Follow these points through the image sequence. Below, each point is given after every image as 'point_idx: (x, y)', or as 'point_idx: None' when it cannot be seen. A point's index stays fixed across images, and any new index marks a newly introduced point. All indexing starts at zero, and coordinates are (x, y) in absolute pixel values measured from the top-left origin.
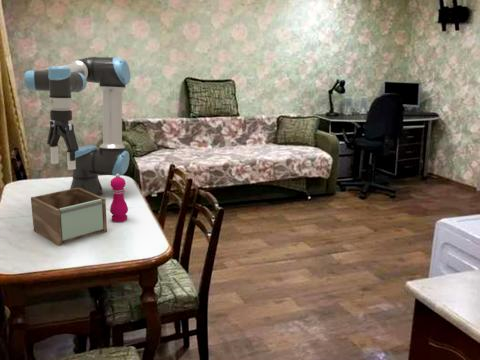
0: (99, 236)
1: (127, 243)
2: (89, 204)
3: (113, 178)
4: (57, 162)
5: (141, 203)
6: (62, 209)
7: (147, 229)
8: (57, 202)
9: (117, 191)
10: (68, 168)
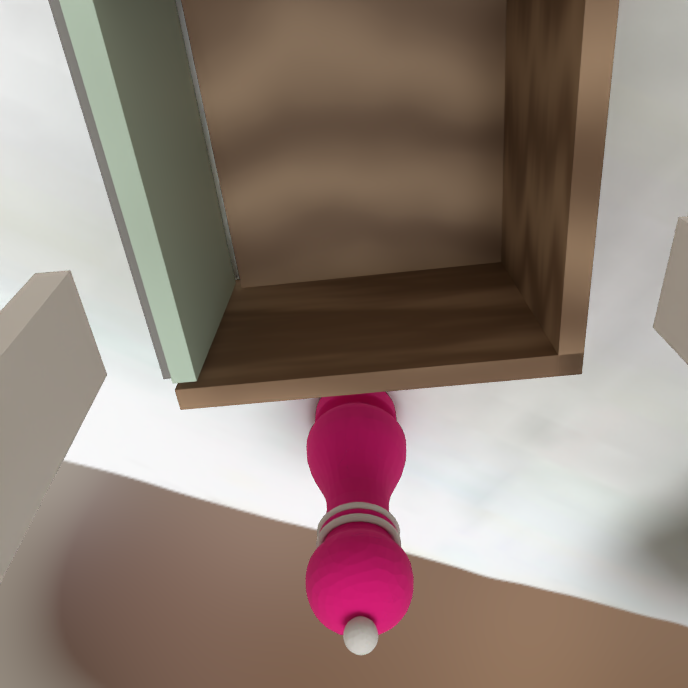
0: None
1: None
2: (133, 275)
3: (372, 596)
4: (666, 317)
5: (493, 569)
6: (66, 14)
7: (155, 450)
8: (543, 146)
9: (324, 526)
10: (34, 283)
